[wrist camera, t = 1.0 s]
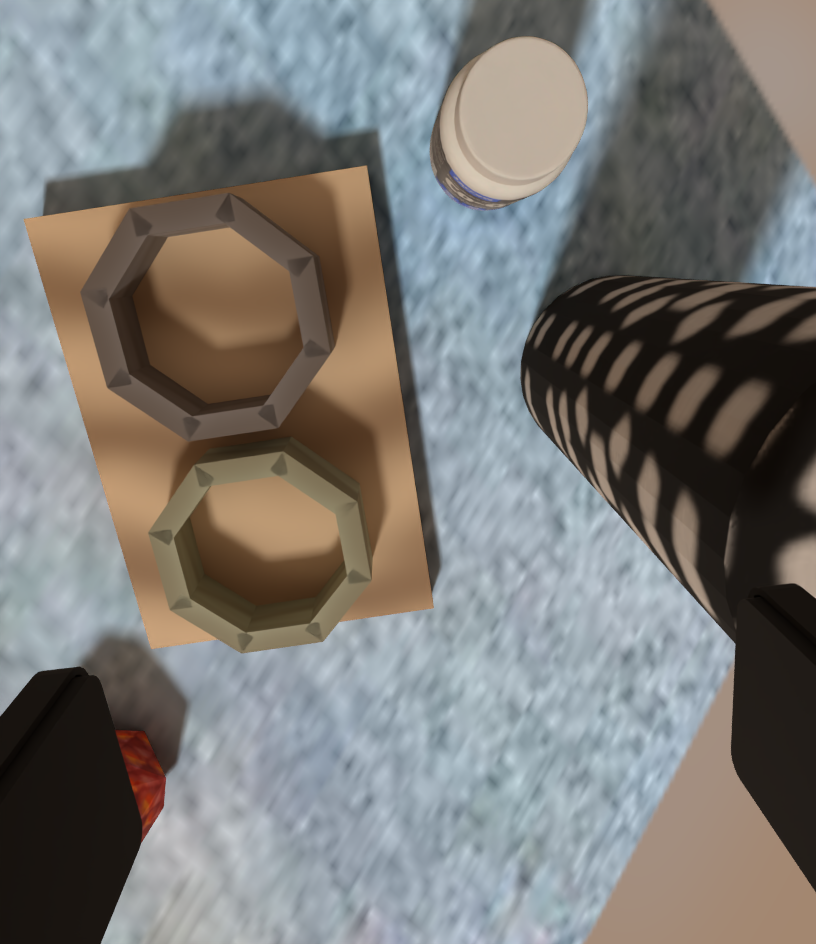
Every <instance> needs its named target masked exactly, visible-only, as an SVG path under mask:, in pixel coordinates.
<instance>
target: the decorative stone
mask: <svg viewBox="0 0 816 944" xmlns="http://www.w3.org/2000/svg"><path fill="white" fill-rule="evenodd" d="M115 732H116V735H117V738H118V742H119V745H120V749H121V752H122V755H123V759H124V762H125V765H126V769H127V772H128V775H129V779H130V782H131V785H132V789H133V792H134V795H135V799H136V802H137V805H138V809H139V812H140V815H141V819H142V829H143V830H142V840H141V843H142V841H143V839H144V838H145V836H146V835H147V833H148V831H149V830H150V828H151V827H152V825H153V823H154V822H155V820H156V819H157V817H158V815H159V814H160V812H161V811H162V809H163V807H164V796H165V784H166V777H165V775H164V773H163V771H162V768H161V766H160V764H159V762H158V760H157V758H156V756H155V753H154V751H153V749H152V747H151V745H150V743H149V741H148V738H147V736H146V734H145V732H144V731H129V730H115Z"/></svg>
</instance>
